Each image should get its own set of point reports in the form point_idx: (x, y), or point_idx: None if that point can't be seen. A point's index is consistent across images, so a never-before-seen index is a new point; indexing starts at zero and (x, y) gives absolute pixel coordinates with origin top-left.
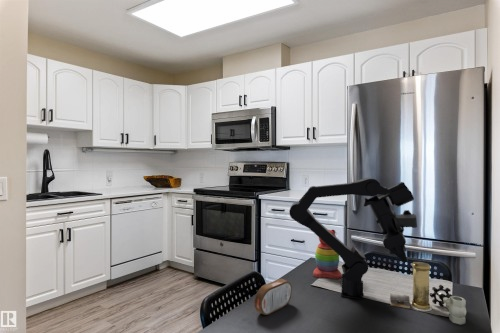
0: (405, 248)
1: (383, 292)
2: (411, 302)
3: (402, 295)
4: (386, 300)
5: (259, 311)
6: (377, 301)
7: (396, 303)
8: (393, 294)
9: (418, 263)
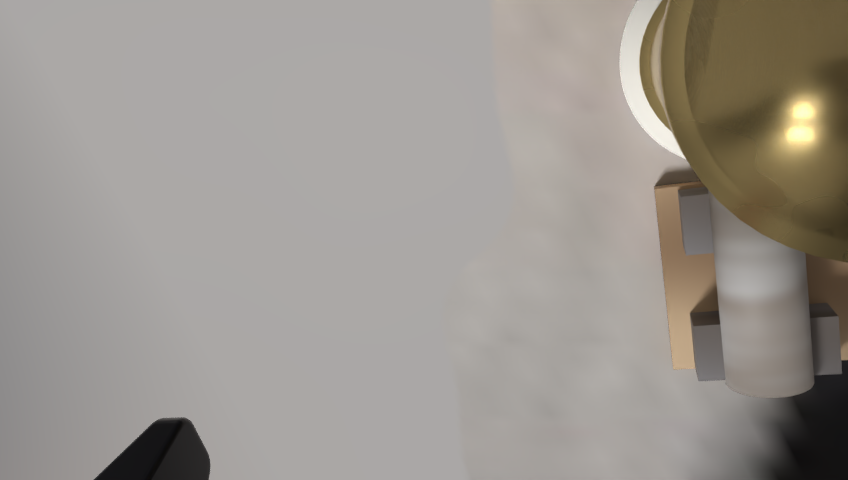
0: (144, 461)
1: (509, 420)
2: (675, 153)
3: (769, 265)
4: (717, 393)
5: None
6: (788, 476)
7: (827, 305)
8: (781, 363)
9: (826, 116)
